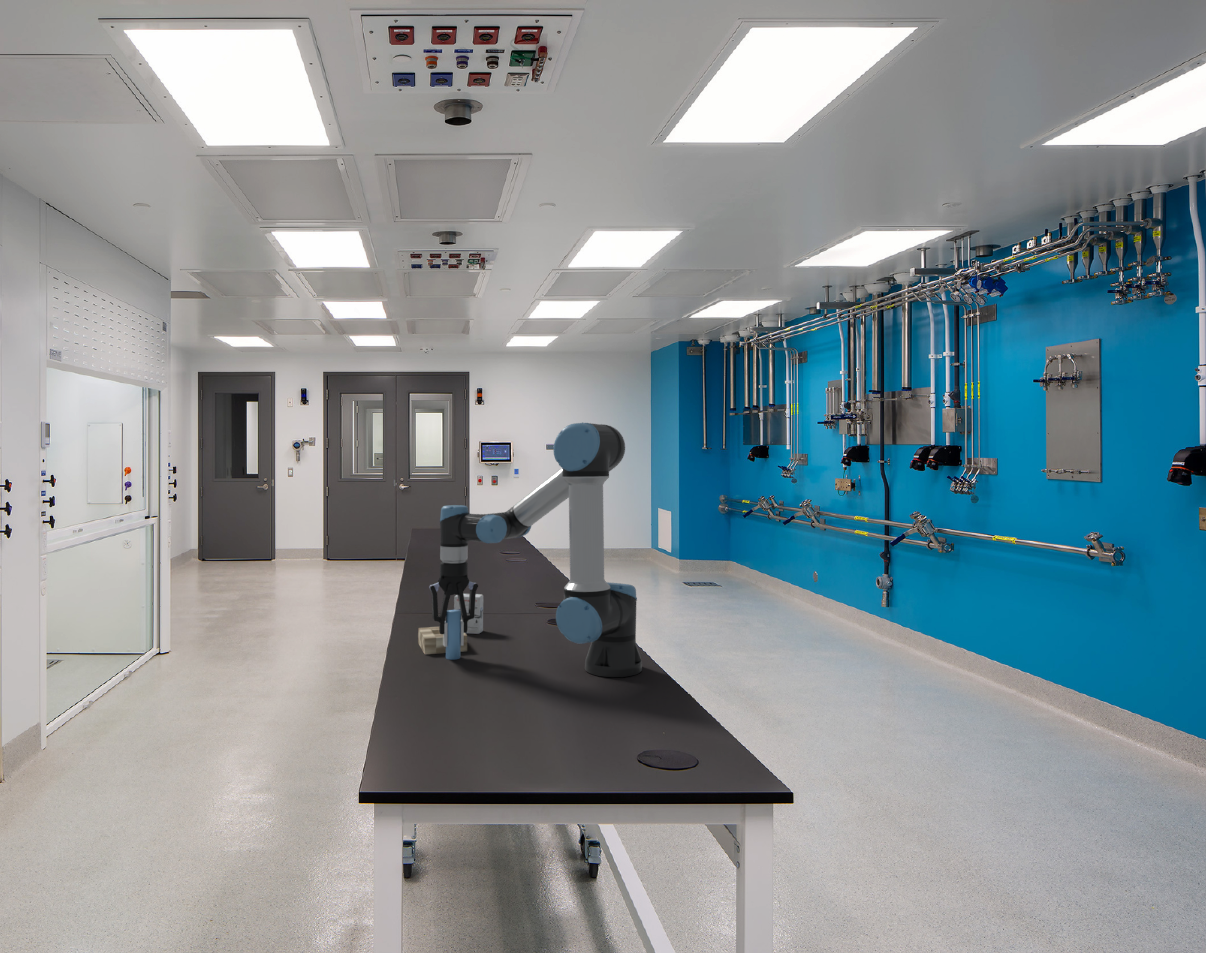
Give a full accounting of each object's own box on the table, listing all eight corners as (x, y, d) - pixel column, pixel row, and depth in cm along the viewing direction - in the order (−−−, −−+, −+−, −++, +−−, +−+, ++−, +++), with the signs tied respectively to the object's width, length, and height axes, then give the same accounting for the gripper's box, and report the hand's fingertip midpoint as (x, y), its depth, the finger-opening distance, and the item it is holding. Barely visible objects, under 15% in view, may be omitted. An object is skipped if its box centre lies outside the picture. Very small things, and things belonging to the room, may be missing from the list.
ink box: (452, 633, 245) (453, 596, 244) (457, 629, 250) (457, 593, 249) (479, 634, 244) (479, 597, 243) (483, 630, 249) (483, 594, 248)
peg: (461, 659, 214) (461, 612, 214) (447, 660, 213) (447, 613, 212) (458, 655, 218) (459, 609, 217) (444, 656, 216) (444, 610, 216)
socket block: (467, 651, 222) (467, 635, 222) (424, 654, 218) (424, 638, 218) (458, 640, 236) (458, 625, 235) (418, 643, 231) (418, 628, 231)
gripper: (481, 558, 221) (480, 639, 221) (421, 560, 215) (420, 644, 215) (486, 561, 214) (486, 646, 214) (424, 564, 208) (424, 650, 208)
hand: (453, 644), depth 215 cm, fingers closed on peg, 4 cm apart
